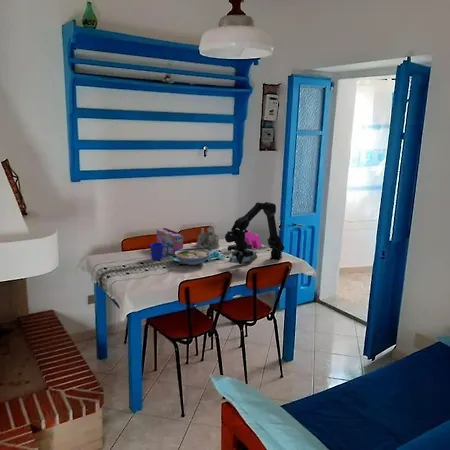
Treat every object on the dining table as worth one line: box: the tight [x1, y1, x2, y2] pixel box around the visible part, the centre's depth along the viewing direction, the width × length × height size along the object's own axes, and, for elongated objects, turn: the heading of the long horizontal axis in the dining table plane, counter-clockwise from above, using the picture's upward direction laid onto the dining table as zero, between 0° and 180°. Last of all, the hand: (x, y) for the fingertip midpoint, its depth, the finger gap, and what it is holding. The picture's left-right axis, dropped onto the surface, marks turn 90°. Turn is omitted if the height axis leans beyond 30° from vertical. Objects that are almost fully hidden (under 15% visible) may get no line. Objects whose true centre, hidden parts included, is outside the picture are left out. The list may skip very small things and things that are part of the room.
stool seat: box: [229, 249, 258, 265], centre depth 298 cm, size 14×14×6 cm
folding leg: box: [231, 256, 251, 264], centre depth 288 cm, size 14×3×4 cm, turn 122°
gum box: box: [156, 227, 184, 255], centre depth 316 cm, size 24×8×14 cm, turn 41°
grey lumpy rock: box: [195, 224, 220, 250], centre depth 328 cm, size 16×16×15 cm
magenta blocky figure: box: [245, 230, 263, 250], centre depth 329 cm, size 12×10×10 cm
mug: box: [149, 242, 169, 261], centre depth 297 cm, size 8×12×10 cm
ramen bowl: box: [172, 247, 211, 266], centre depth 289 cm, size 25×23×8 cm
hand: (240, 263), depth 282 cm, fingers closed
